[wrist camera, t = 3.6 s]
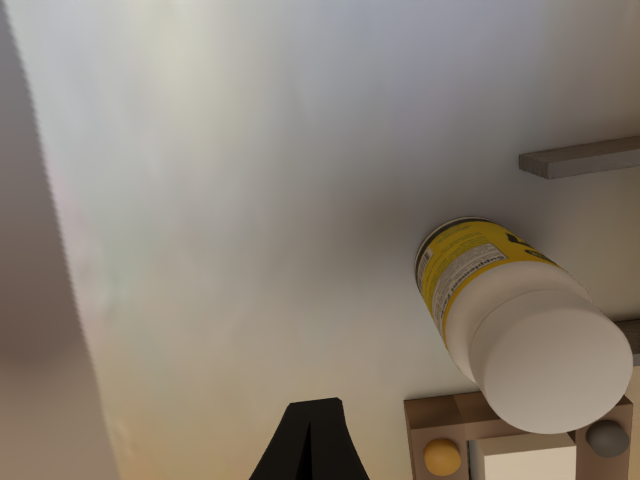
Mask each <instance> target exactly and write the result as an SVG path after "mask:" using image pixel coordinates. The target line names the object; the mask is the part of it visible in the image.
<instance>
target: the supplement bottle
mask: <svg viewBox="0 0 640 480" xmlns="http://www.w3.org/2000/svg"><path fill="white" fill-rule="evenodd" d="M415 280H416V283H417V286H418V289H419V291H420V293H421V296H422V298H423V299H424V301H425V303H426V306H427V308H428V310H429V312H430V314H431V316H432V318H433V320H434V322H435V324H436V327H437V329H438V331H439V333H440V335H441V337H442V339H443V341H444V344H445V346H446V348H447V350H448V352H449V354H450V356H451V358H452V359H453V361H454V363H455V364H456V366H457V367H458V368H459V370H460V371H461V372H462V373H463V374H464V375H465V376H466V377H467V378H469V379H470V380H471V381H472V382H474V383H475V384H477V385H478V387H479V388H480V390H481V391H482V393H483V395H484V397H485V398H486V400H487V402H488V404H489V405H490V407H491V408H492V409H493V410H494V412H495V413H496V414H497V415H498V416H499V417H500V418H501V419H503V420H504V421H506V422H507V423H509V424H510V425H512V426H514V427H516V428H519V429H522V430H524V431H528V432H533V433H540V434H556V433H564V432H568V431H572V430H576V429H579V428H582V427H584V426H586V425H589V424H591V423H593V422H594V421H596V420H598V419H599V418H601V417H602V416H604V415H605V414H606V413H608V412H609V411H610V410H611V409H612V408H613V407H614V406H615V405H616V404H617V403H618V402H619V401H620V399H621V398H622V396H623V395H624V393H625V391H626V389H627V387H628V384H629V382H630V379H631V376H632V371H633V356H632V351H631V348H630V345H629V343H628V340H627V338H626V337H625V335H624V334H623V332H622V331H621V330H620V329H619V328H618V326H616V325H615V324H614V323H613V322H612V321H611V320H610V319H609V318H607V317H606V316H605V315H604V314H603V313H602V312H601V311H600V310H599V309H598V308H597V307H596V306H595V305H594V303H593V301H592V299H591V297H590V295H589V294H588V292H587V291H586V289H585V288H584V287H583V286H582V285H581V284H580V282H579V281H578V280H577V279H576V278H574V277H573V276H572V275H571V274H569V273H568V272H567V271H565V270H564V269H562V268H561V267H559V266H558V265H557V264H555V263H554V262H553V261H551V260H550V259H548V258H547V257H545V256H544V255H542V254H541V253H540V252H538V251H537V250H535V249H534V248H533V247H531V246H530V245H529V244H527V243H526V242H524V241H523V240H521V239H520V238H519V237H517V236H516V235H514V234H513V233H512V232H510V231H509V230H507V229H506V228H504V227H503V226H501V225H499V224H498V223H496V222H494V221H491V220H489V219H485V218H480V217H463V218H458V219H454V220H452V221H449V222H447V223H445V224H443V225H441V226H440V227H438V228H437V229H435V230H434V231H433V232H432V233H431V234H430V235H429V236H428V237H427V238H426V239H425V241H424V242H423V244H422V245H421V247H420V249H419V251H418V253H417V256H416V260H415Z"/></svg>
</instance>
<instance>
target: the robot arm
mask: <svg viewBox="0 0 640 480" xmlns="http://www.w3.org/2000/svg"><path fill="white" fill-rule="evenodd" d="M249 480H370V479H369V477H368V475H367V473H366V471H365V469H364V467H363V465H362V463H361V461H360V459H359V456H358V454H357V452H356V449H355V447H354V445H353V442H352V440H351V437H350V435H349V432H348V429H347V426H346V422H345V416H344V410H343V405H342V400H340V399H339V398H337V397H336V398H327V399H319V400H311V401H303V402H295V403H290V404H289V405H288V407H287V408H286V411H285V413H284V415H283V417H282V419H281V422H280V424H279V426H278V428H277V430H276V432H275V434H274V436H273V438H272V439H271V441H270V443H269V445H268V447H267V449H266V451H265V452H264V454H263V456H262V458H261V460H260V461H259V463H258V465H257V467H256V468H255V470H254V472H253V474H252V475H251V477H250V478H249Z"/></svg>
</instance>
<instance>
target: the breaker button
mask: <svg viewBox="0 0 640 480" xmlns="http://www.w3.org/2000/svg"><path fill="white" fill-rule="evenodd" d="M469 454H470V468H471V479H472V480H575V475H576V445H575V443H574V442H573V441H572V439H571V438H570V436H569V435H568V434H567V432H564V433H556V434H540V433H531V434H522V435H513V436H504V437H495V438H486V439H478V440H469Z"/></svg>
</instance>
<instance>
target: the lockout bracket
mask: <svg viewBox="0 0 640 480" xmlns="http://www.w3.org/2000/svg"><path fill="white" fill-rule="evenodd" d="M634 166H640V136H637V137H631V138H624V139H618V140H612V141H605V142H599V143H592V144H586V145H579V146H573V147H567V148H560V149H554V150H547V151H541V152H535V153H528V154H522V155H519V169H521V170H523V171H526V172H529V173H532V174H535V175H537V176H540V177H543V178H546V179H555V178H561V177H568V176H575V175H581V174H588V173H594V172H601V171H607V170H614V169H621V168H627V167H634ZM614 324H615V325H616V326H618V328H619V329H620V330H621V331H622V332H623V334H624V335H625V337H626V338H627V340H628V343H629V345H630V348H631V351H632V356H633V366H640V319H638V320H630V321H622V322H615V323H614Z"/></svg>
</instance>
